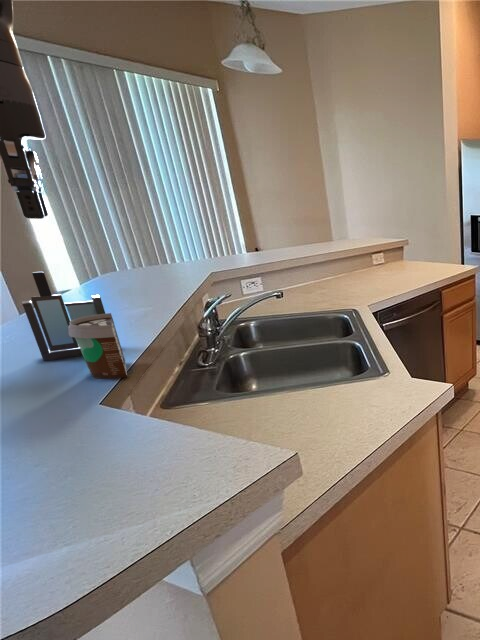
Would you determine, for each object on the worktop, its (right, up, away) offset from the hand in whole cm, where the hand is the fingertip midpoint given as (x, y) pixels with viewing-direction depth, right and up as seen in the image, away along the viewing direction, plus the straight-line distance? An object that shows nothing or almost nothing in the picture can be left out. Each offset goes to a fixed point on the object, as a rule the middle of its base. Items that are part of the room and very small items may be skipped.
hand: (37, 217), depth 71 cm
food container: (-1, -25, +12) cm, 28 cm away
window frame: (-15, -20, +22) cm, 33 cm away
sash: (-15, -20, +20) cm, 32 cm away
